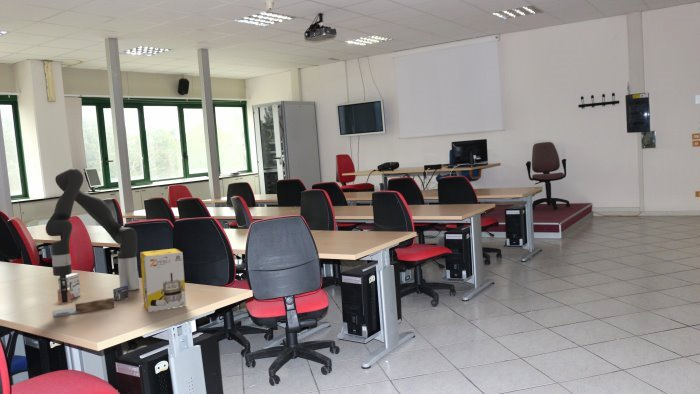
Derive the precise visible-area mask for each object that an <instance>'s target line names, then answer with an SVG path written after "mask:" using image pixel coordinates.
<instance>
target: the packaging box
mask: <svg viewBox="0 0 700 394" xmlns="http://www.w3.org/2000/svg"><path fill="white" fill-rule="evenodd" d="M139 253H140V256H139V257H140V270H141V271H140V272H141V283H142V284H141V285H142V294H143V295H142V298H143V306H144V308H145V309H146V310H147V313H153V312H152V311H154V312H159V311H158V310H161V311H164V310H163V309H167V310H169V309H168V308H173V307H180V306H185V305H186V306H187V298H186V287H185V286H186V284H185V283H186V282H185V270H184V269H185V268H184V255H183V251H181V250H180V249H177V248H169V249H168V248H167V249H159V250H157V249H156V250H148V251H147V250H146V251H141V252H139ZM180 308H181V307H180Z"/></svg>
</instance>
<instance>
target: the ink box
mask: <svg viewBox="0 0 700 394" xmlns="http://www.w3.org/2000/svg"><path fill="white" fill-rule="evenodd" d="M66 278H68V288H70V294H71V300H72V299H75V298H79V297H80V296H81V285H80V273H78V272H75V273H74V272H72V273H71V274H69V275H66Z"/></svg>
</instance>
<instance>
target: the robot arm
mask: <svg viewBox="0 0 700 394" xmlns="http://www.w3.org/2000/svg"><path fill="white" fill-rule="evenodd" d="M54 181H55V183H56V185H57V186H58V188H59V189H61V191H63V193H62V194H61V195H60V197H59V198H58V200H57V202H56V203H55V207H54V211H53V213H52V215H51V216H50V218H49V219H48V221H47V222H46V224H45V233H46V234H47V235H48V236H49V237H61V236H62V239H60V240H57V241H53V242H52V243H51V254H52V258H51V260H52V261H51V263H52V274H53V276H56V277H59V278H57V283H58V287H59V288H58V289H60V290H61V295H62V303H65V302H68V299H67V293H68V291H67V289H68V278H66V275H69V274H71V273H73V269H72V258H71V253H70V240H71V235H72V231H73V224H72V222H71V221H70V220H69V219H70V218H71V216H72V212H73V207H74V204H75V202H76V203H77V204H78V205H79V206H81V208H82V209H83V210H85V212H86V213H87V214H88V215H89V216H90V217H91V218H92V219H93V220H94V221H96V223H98V224H99V226H101V227H102V228H103V229H104V230H105V231H106V233H107V234H109V236H110V237H111V238H112V240H113V241H114V242H115V243H116V244H118V245H120V246H121V250H120V251H119V252H118V253H117V264H118V266H117V267H118V276H119V279H118V280H119V287H123V286H128V292H129V291H134V290H140V279H139V270H138V261H137V253H138V233H137V231H136V230H135V228H133V227H123V226H122V225H121V224H119V223H118V222H117V221H116V219H115V218H114V216H113V213H112V211H111V208H110V207H109V205H107V204H106V203H105V202H104V201H103V200H102V199H101V198H99V197H98V196H94V195H91V194H89V193H87V192H84V191H82V190H81V188H82V186H83V183H84V175H83V172H81V171H80V169H78V168H76V167H72V168H69V169H67V170H65V171H62V172H60V173H59V174H57V175H56V176H55V179H54ZM62 289H66V291H62ZM65 304H66V303H65Z"/></svg>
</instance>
